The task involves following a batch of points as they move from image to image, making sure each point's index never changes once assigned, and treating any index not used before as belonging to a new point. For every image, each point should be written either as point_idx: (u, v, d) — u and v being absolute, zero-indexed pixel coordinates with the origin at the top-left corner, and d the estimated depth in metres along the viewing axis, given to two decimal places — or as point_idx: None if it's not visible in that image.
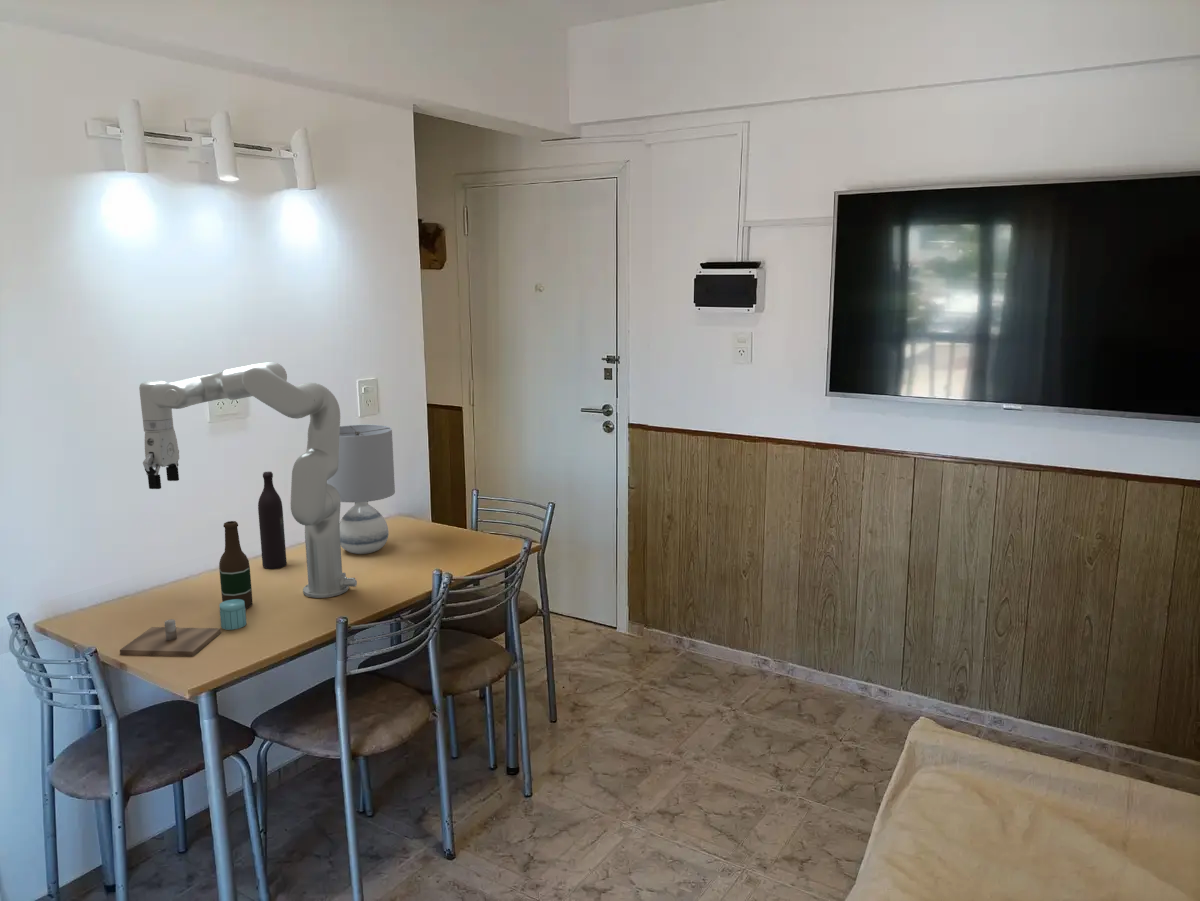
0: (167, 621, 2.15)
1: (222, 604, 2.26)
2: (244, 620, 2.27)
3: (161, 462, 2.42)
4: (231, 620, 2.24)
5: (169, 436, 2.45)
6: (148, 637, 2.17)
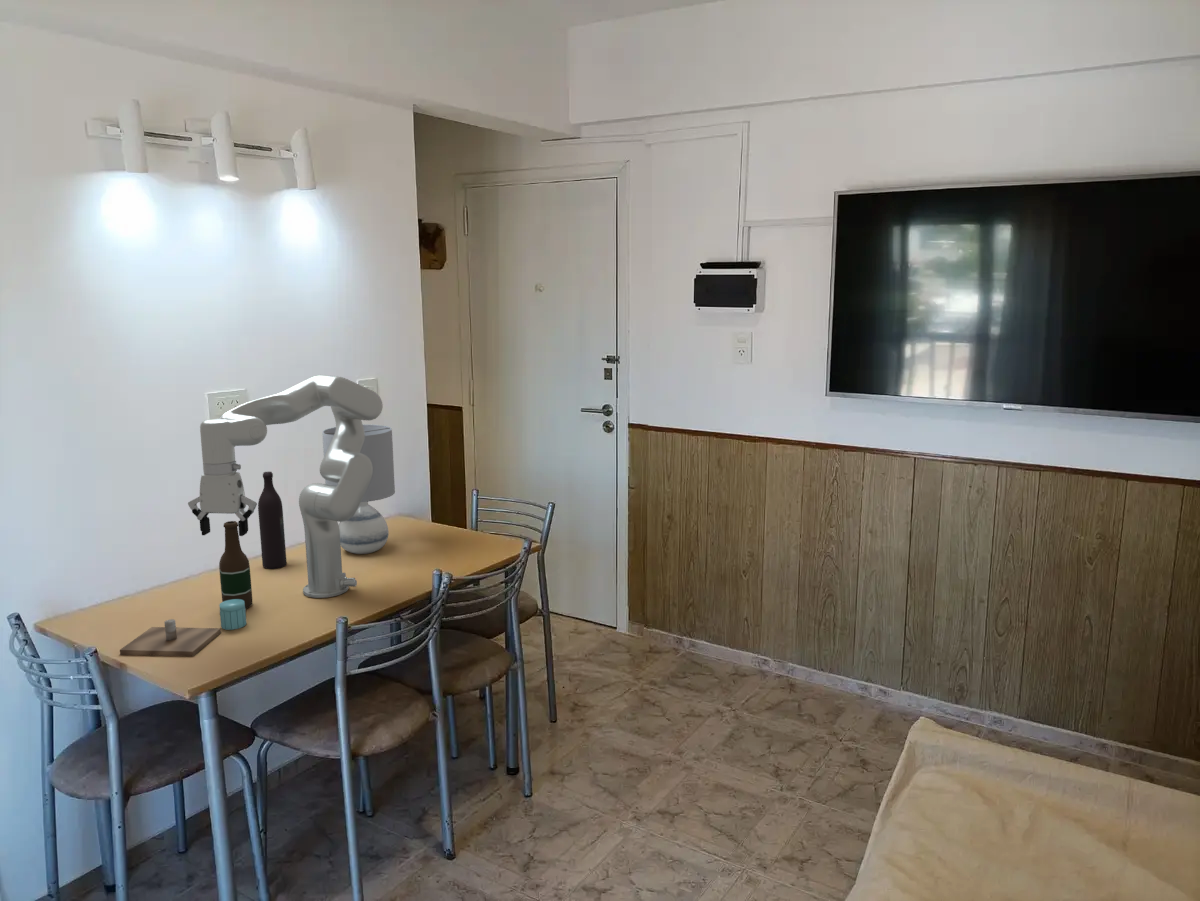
0: (167, 621, 2.15)
1: (222, 604, 2.26)
2: (244, 620, 2.27)
3: None
4: (231, 620, 2.24)
5: None
6: (148, 637, 2.17)
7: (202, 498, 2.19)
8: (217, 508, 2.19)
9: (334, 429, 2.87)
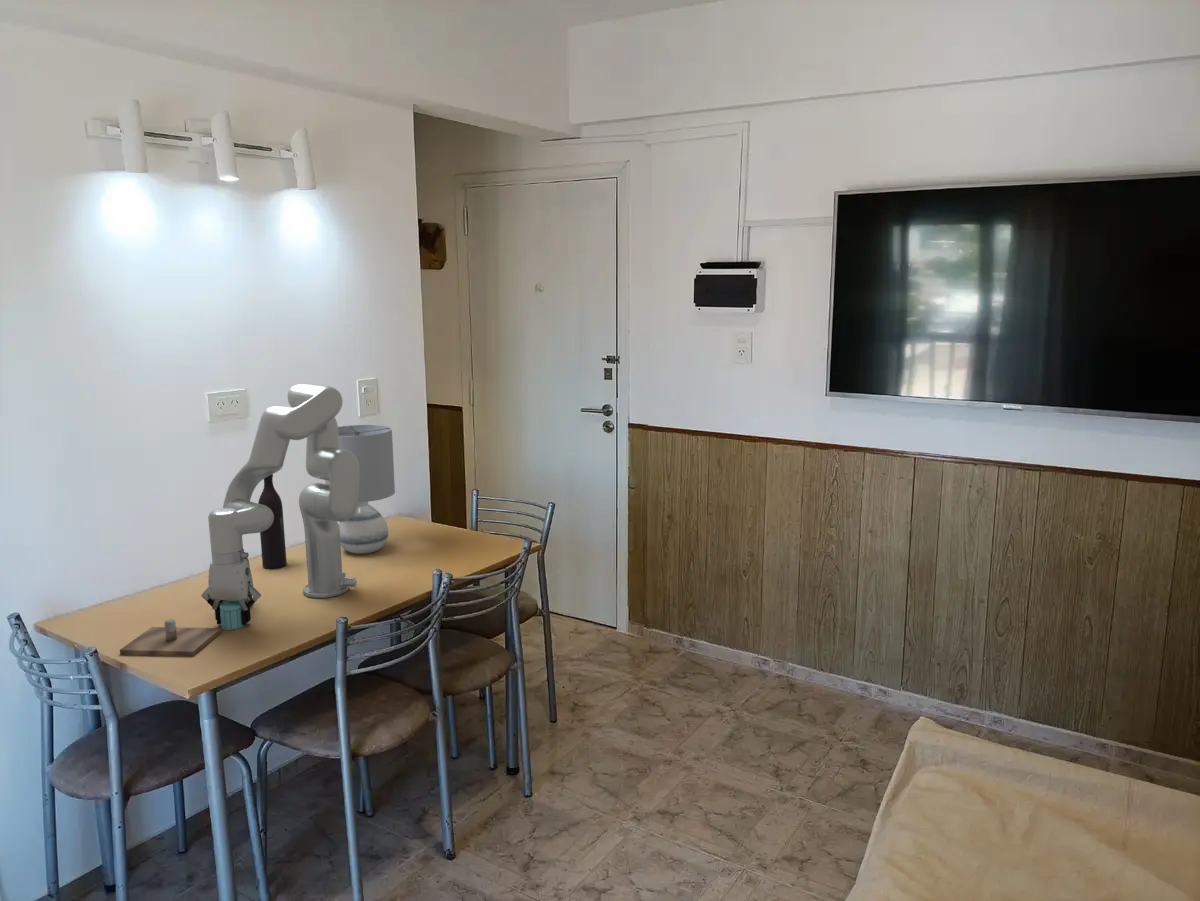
0: (167, 621, 2.15)
1: (222, 604, 2.26)
2: None
3: None
4: (231, 620, 2.24)
5: None
6: (148, 637, 2.17)
7: (211, 586, 2.24)
8: (226, 595, 2.24)
9: None
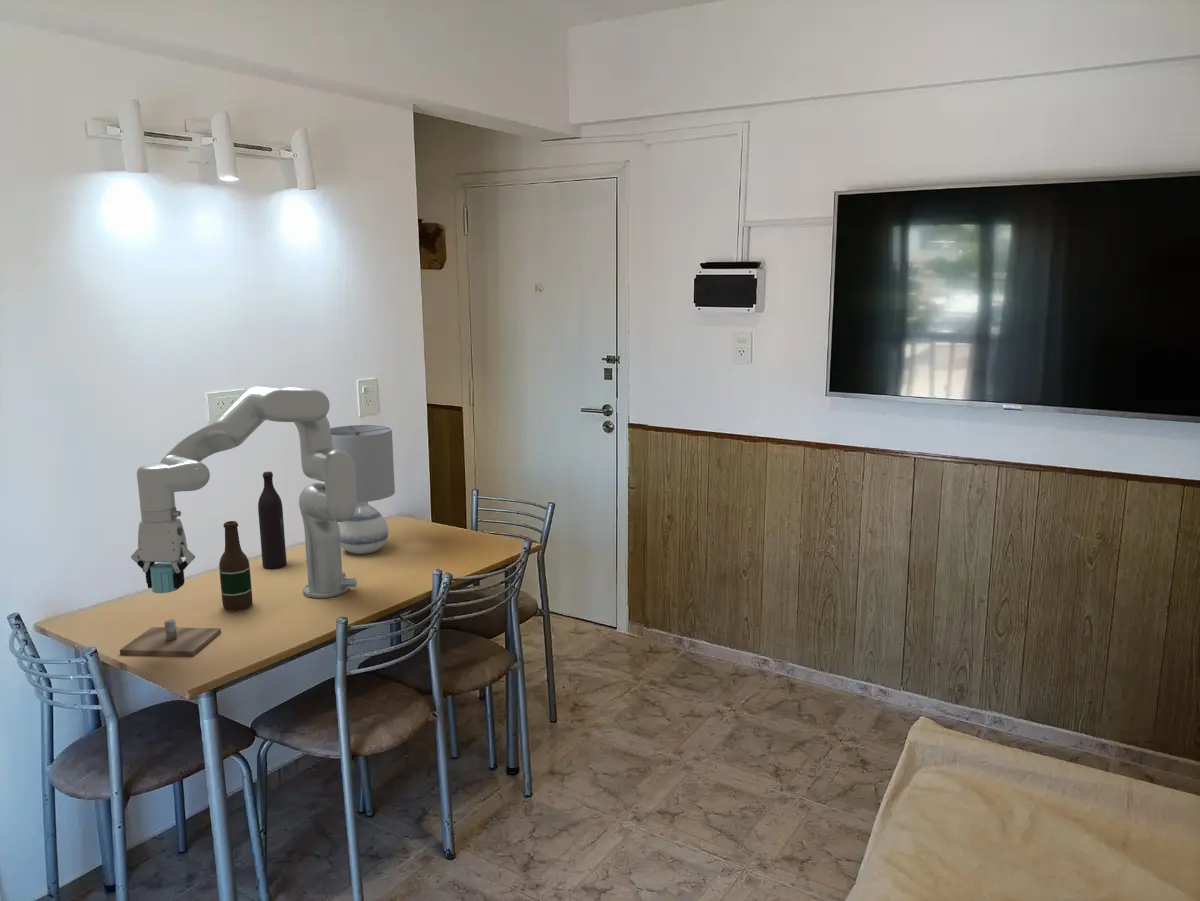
0: (167, 621, 2.15)
1: (153, 566, 2.12)
2: None
3: None
4: (162, 583, 2.10)
5: None
6: (148, 637, 2.17)
7: (140, 546, 2.09)
8: (156, 557, 2.10)
9: (334, 429, 2.87)
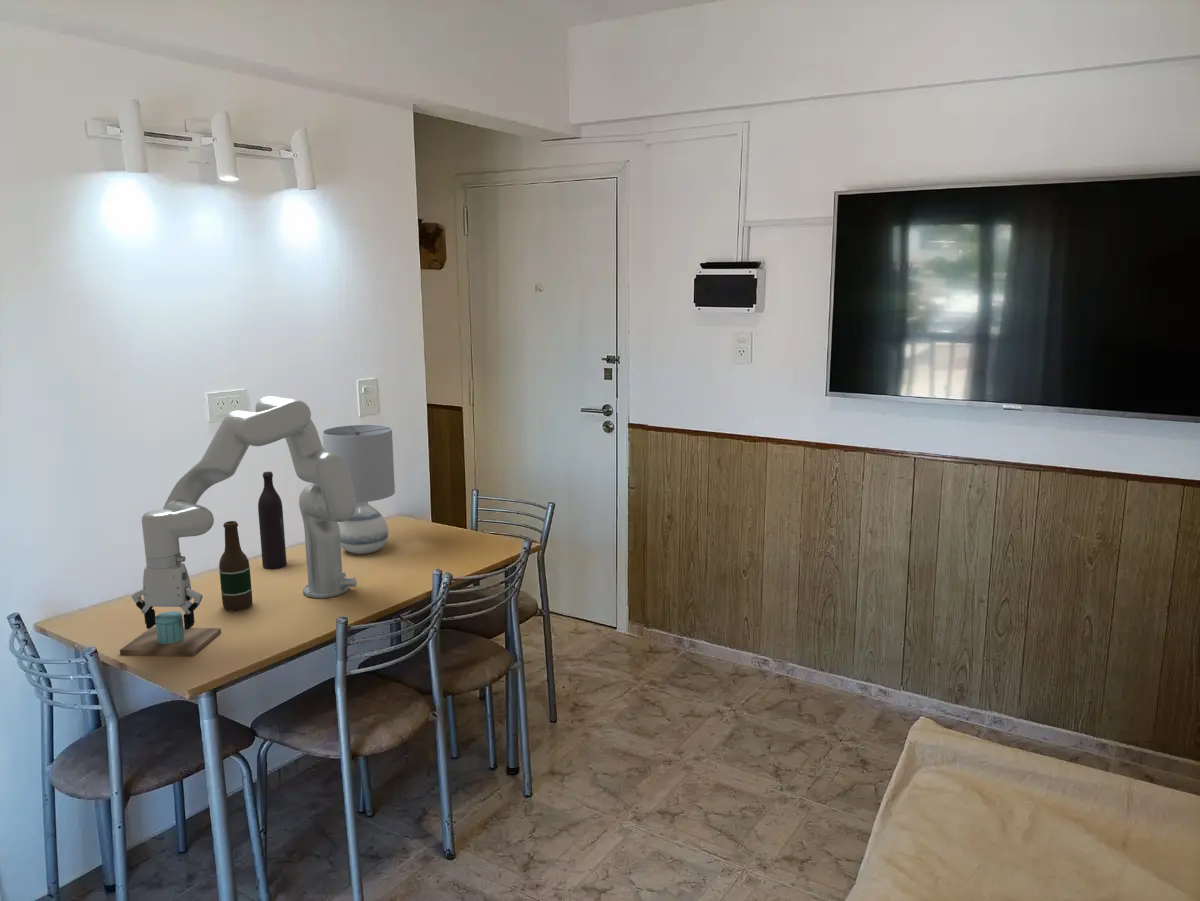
0: None
1: (158, 617, 2.14)
2: (181, 633, 2.16)
3: None
4: (167, 634, 2.13)
5: None
6: (148, 637, 2.17)
7: (145, 592, 2.12)
8: (161, 602, 2.12)
9: (334, 429, 2.87)
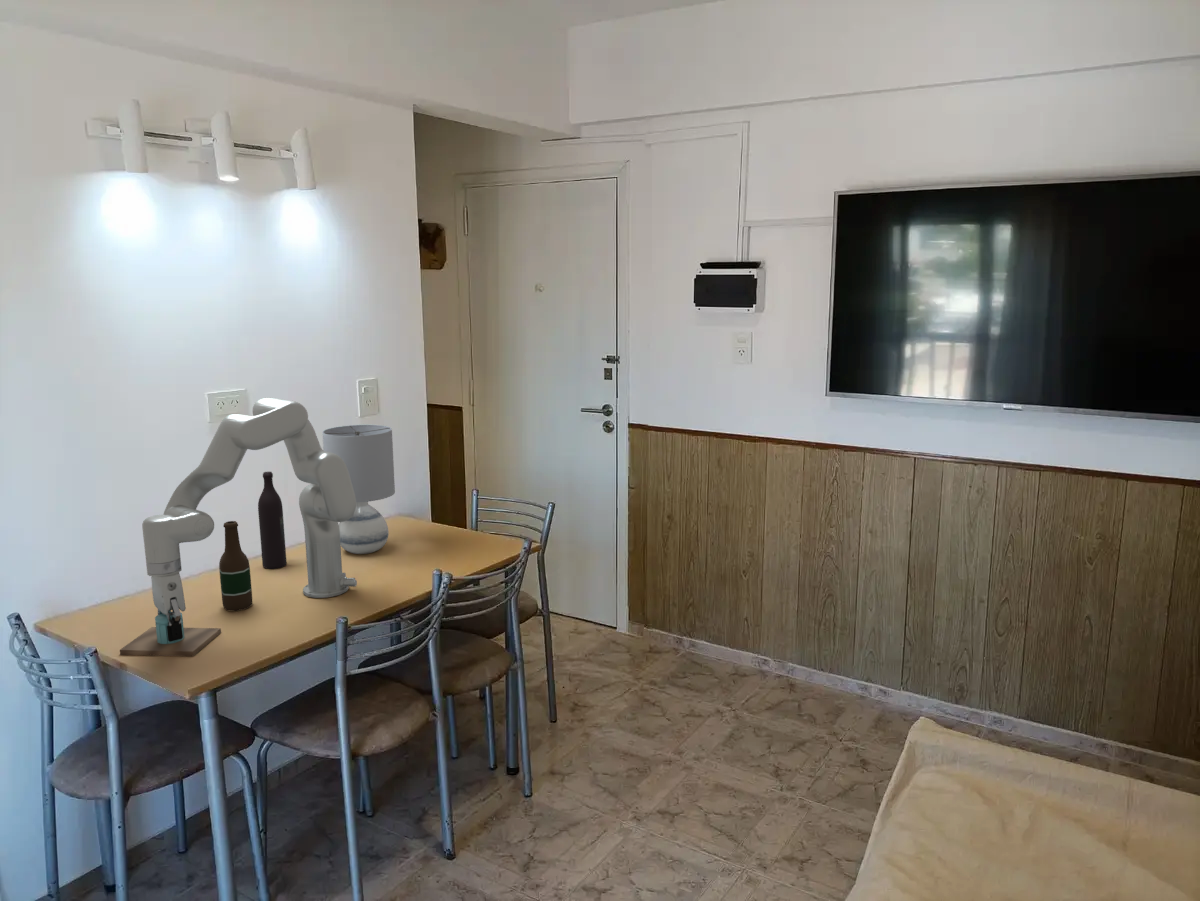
0: None
1: (158, 617, 2.14)
2: (182, 634, 2.16)
3: (184, 606, 2.13)
4: (167, 634, 2.13)
5: None
6: (148, 637, 2.17)
7: (152, 592, 2.15)
8: (158, 606, 2.13)
9: (334, 429, 2.87)
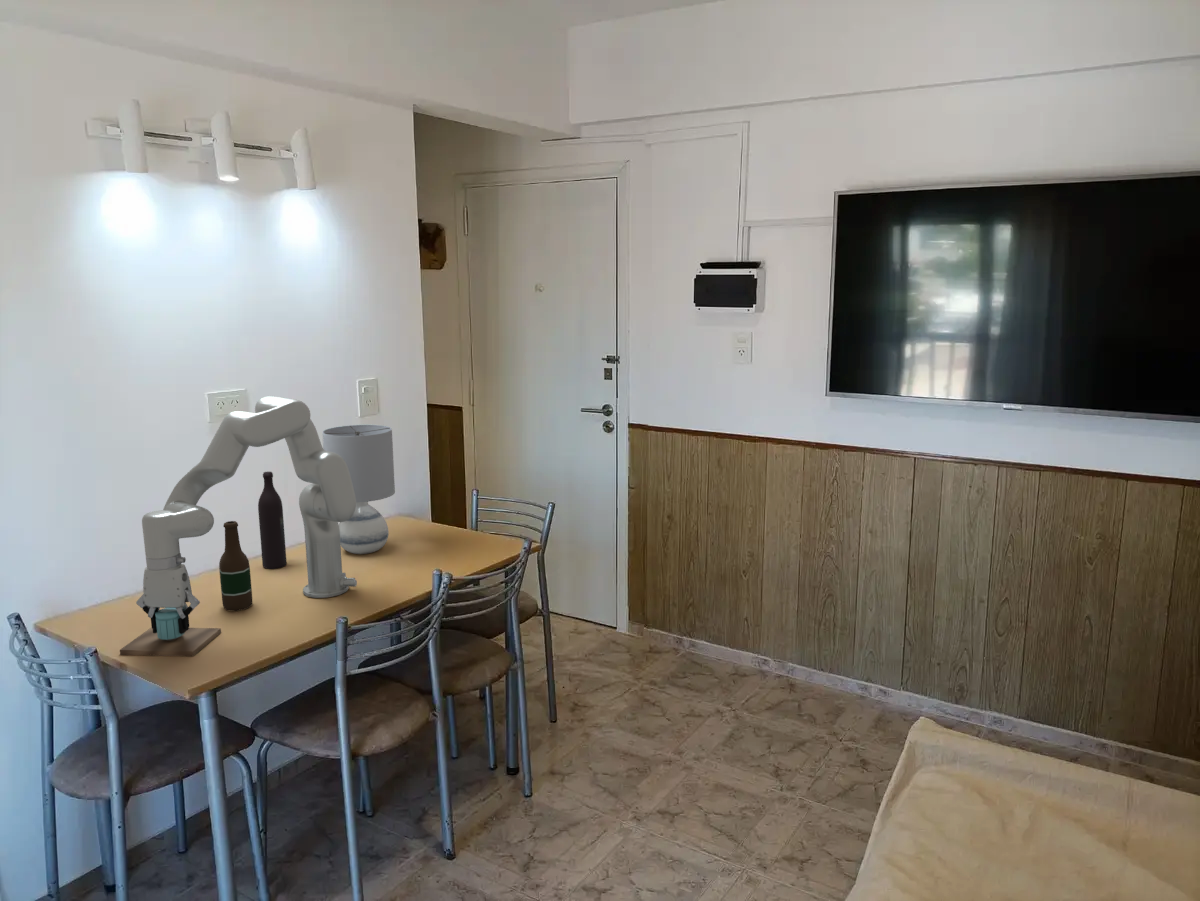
0: None
1: (168, 614, 2.13)
2: None
3: None
4: None
5: None
6: (148, 637, 2.17)
7: (146, 592, 2.12)
8: (161, 603, 2.12)
9: (334, 429, 2.87)
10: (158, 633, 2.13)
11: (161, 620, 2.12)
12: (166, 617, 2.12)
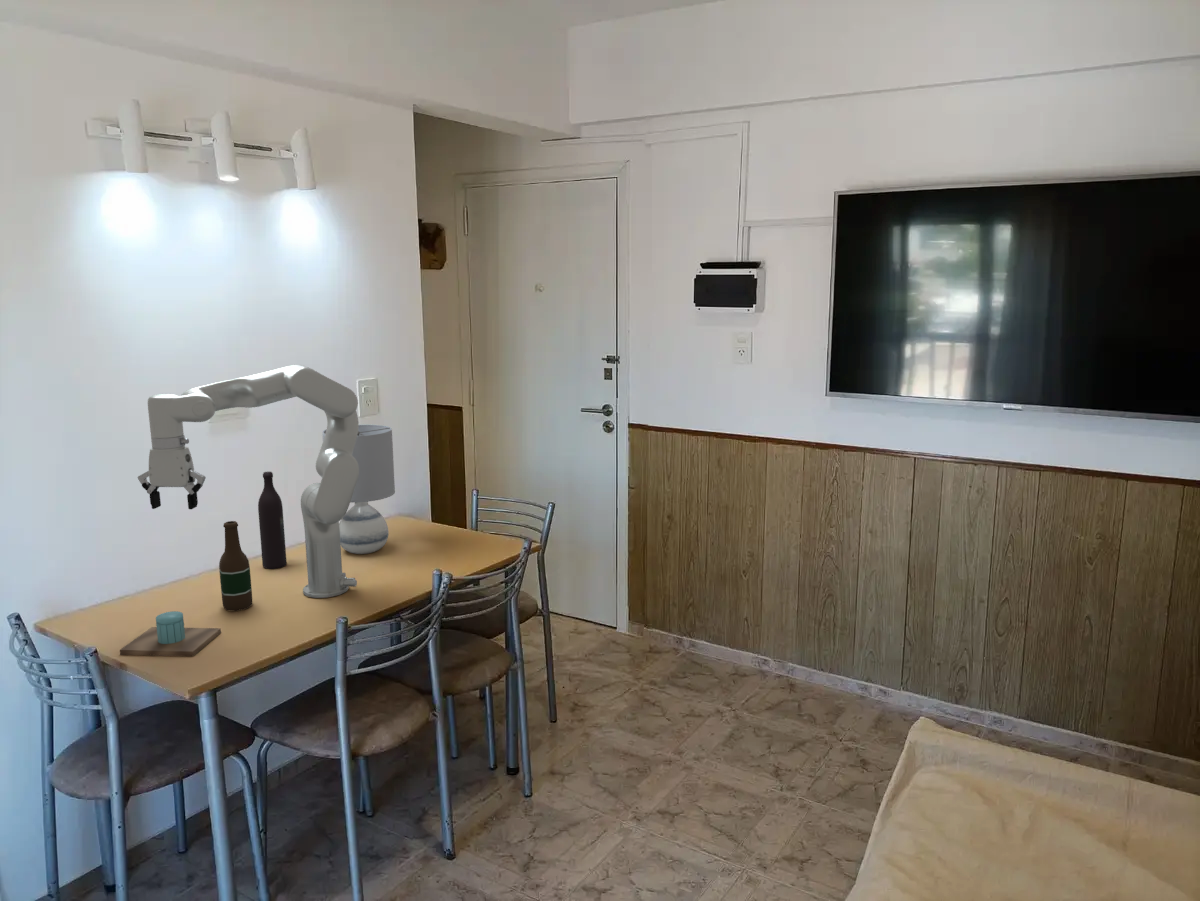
0: None
1: (168, 619, 2.13)
2: None
3: None
4: None
5: None
6: (148, 637, 2.17)
7: (151, 472, 2.23)
8: (166, 482, 2.23)
9: None
10: (158, 637, 2.14)
11: (161, 624, 2.12)
12: (166, 621, 2.12)
